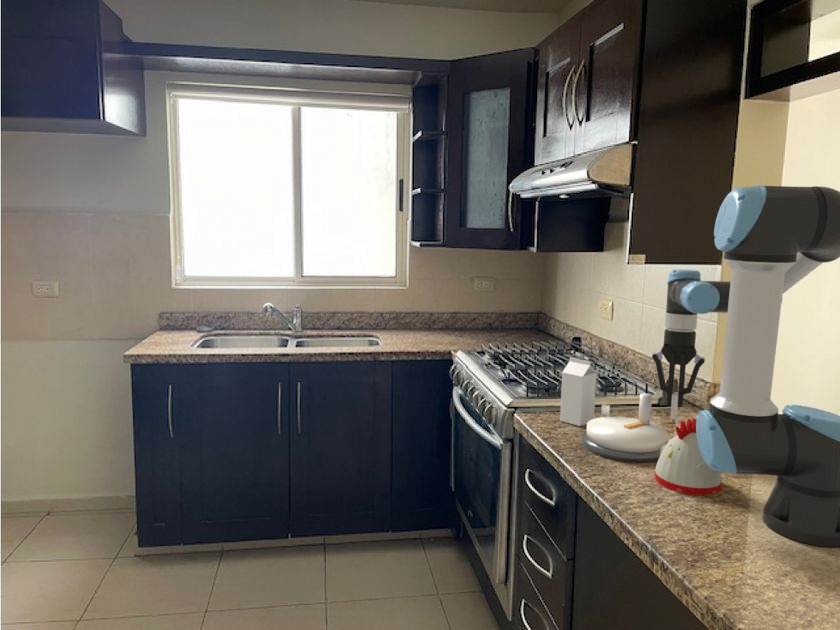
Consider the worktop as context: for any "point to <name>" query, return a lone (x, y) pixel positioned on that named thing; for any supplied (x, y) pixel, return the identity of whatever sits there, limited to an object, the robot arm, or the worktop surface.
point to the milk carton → (578, 392)
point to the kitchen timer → (686, 464)
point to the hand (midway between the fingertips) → (673, 417)
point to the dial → (628, 431)
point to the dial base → (618, 454)
